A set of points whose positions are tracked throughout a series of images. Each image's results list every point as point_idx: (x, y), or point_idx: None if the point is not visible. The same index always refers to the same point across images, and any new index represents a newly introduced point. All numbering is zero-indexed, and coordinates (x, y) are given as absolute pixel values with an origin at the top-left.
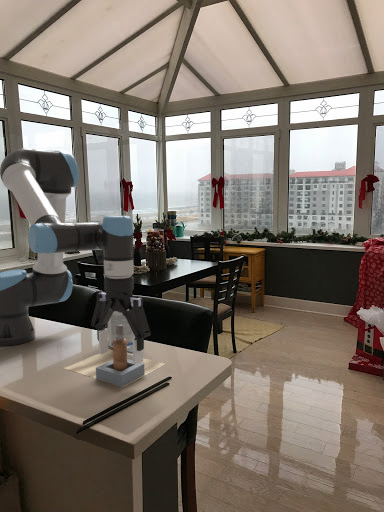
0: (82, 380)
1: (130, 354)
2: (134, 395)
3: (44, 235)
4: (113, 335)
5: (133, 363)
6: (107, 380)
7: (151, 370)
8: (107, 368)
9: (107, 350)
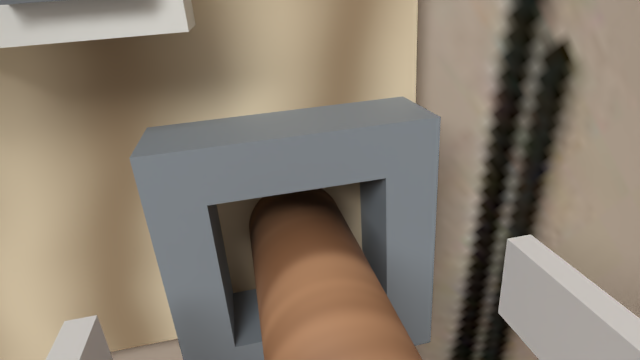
0: (112, 355)
1: (156, 28)
2: (475, 267)
3: None
4: None
5: (501, 311)
6: None
7: (403, 5)
8: None
9: (95, 336)
